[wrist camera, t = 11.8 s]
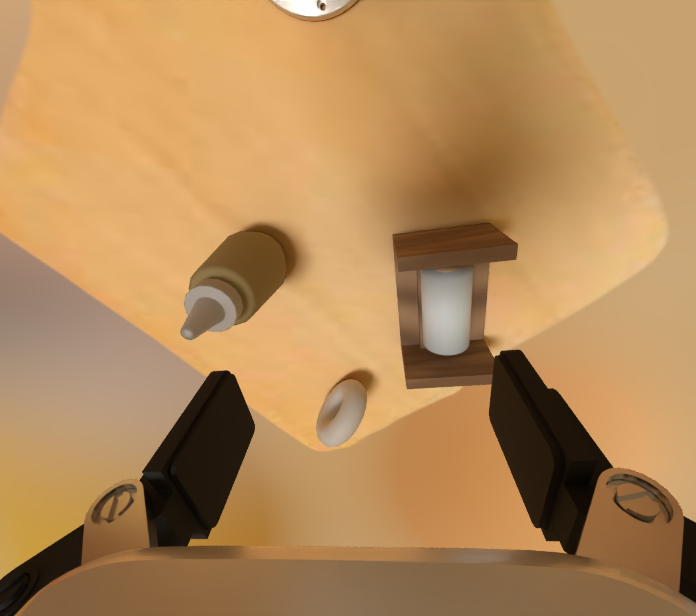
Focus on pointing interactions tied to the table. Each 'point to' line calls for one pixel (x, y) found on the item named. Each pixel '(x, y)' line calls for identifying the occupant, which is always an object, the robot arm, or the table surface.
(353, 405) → the donut
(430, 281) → the roll
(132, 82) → the table surface
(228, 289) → the squeeze bottle
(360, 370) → the table surface
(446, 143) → the table surface
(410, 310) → the cradle
